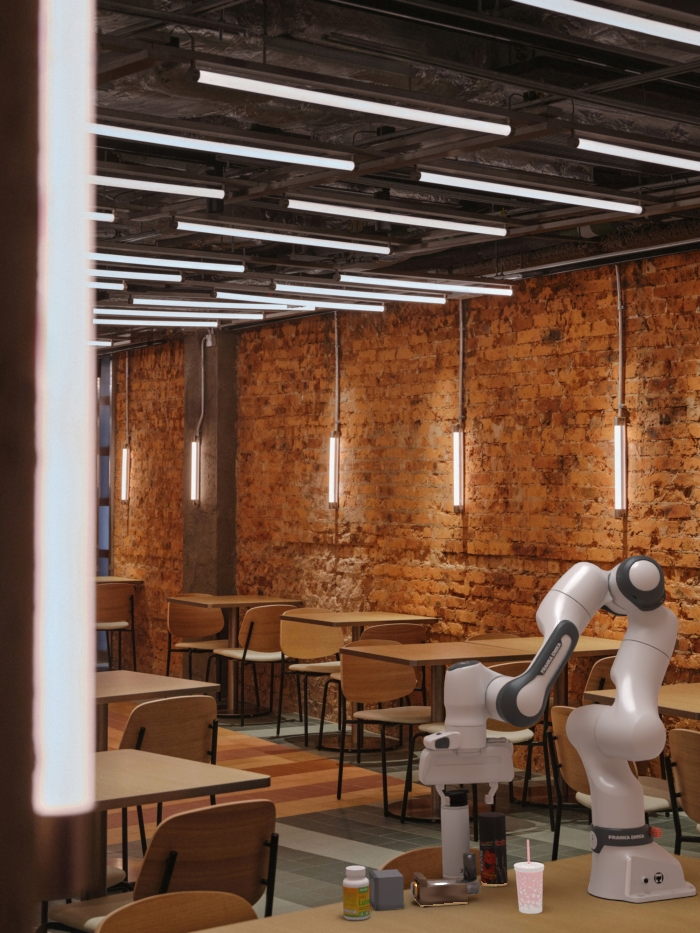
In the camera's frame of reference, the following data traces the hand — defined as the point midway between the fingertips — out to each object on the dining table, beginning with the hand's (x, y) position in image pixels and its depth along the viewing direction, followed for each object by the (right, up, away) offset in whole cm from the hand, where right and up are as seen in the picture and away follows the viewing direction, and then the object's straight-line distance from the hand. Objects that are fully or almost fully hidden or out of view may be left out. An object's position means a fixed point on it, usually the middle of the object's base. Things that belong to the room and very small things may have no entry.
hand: (467, 804), depth 256 cm
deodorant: (+7, -21, +11) cm, 25 cm away
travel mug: (-1, -21, +15) cm, 26 cm away
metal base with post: (-5, -18, -3) cm, 19 cm away
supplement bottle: (-23, -19, -13) cm, 33 cm away
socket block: (-17, -20, -5) cm, 26 cm away
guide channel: (-6, -20, -3) cm, 21 cm away
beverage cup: (+12, -18, -11) cm, 25 cm away
